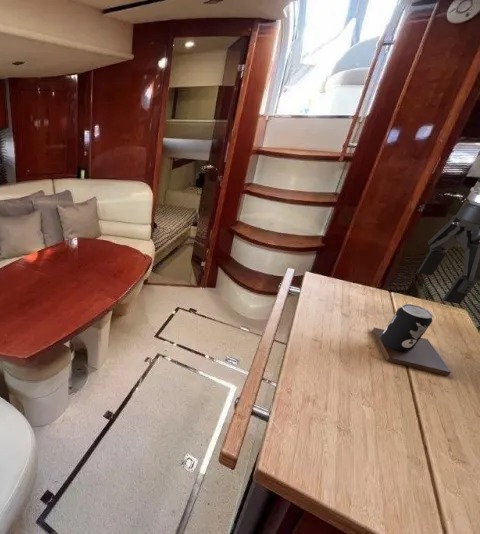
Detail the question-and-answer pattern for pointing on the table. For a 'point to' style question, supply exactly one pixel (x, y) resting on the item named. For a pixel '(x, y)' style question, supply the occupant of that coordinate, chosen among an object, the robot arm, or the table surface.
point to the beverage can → (406, 327)
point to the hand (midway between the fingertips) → (436, 286)
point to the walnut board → (414, 355)
